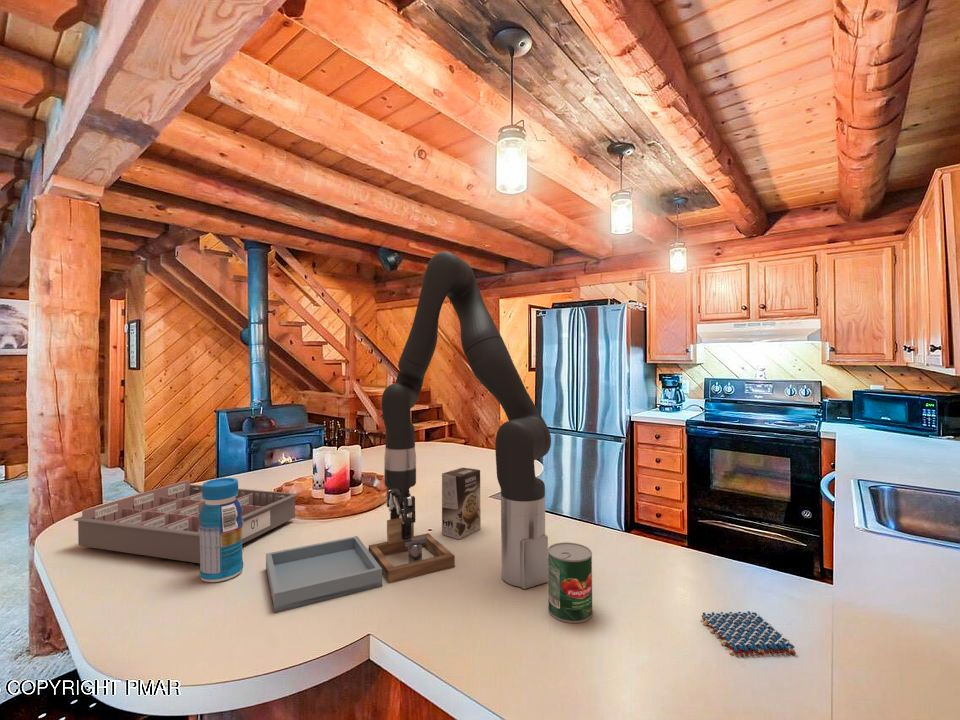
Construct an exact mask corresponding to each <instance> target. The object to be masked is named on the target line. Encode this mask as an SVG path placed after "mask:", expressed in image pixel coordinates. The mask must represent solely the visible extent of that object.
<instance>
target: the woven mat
mask: <svg viewBox="0 0 960 720" xmlns="http://www.w3.org/2000/svg"><path fill="white" fill-rule="evenodd" d="M700 618H701V619H702V620H699V622H700V623H702V624H703V625H704V626H706V630H708V631H709V632H710V633H711V634H712V635H714V634H715V635H714V637H715V638H716V639H718V641H719V642H720V644H721V645H722V646H723V647H725V648H724V650H725V651H728V654H729V655H731V656H740V657H744V656H759V655H760V656H764V655H765V656H766V655H767V656H769V655H795V654H796V650H795V646H794V644H792V643H791V642H790V639H787V638H786V637H784V636H783V633H780V632H779V631H777V630H778V629H776V628H774V626H772V624H771V623H769V622H768V621H766V620H765V618H763V617H762V616H761V615H760V614H757V612H753V611H752V612H751V611H750V610H747V612H742V611H738V612H734V613H733V612H732V611H729V612H728V613H727V612H723V611H721V612H720V613H718V612H717V613H715V612H714V611H712V612H711V613H706V612H702V614H701V617H700Z"/></svg>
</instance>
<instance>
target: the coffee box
mask: <svg viewBox="0 0 960 720" xmlns="http://www.w3.org/2000/svg"><path fill="white" fill-rule="evenodd" d="M481 511H482V510H481V470H480V469H477V468H472V467H471V468H470V467H468V468H467V467H459V468H456V469H453V470H449V471H447V472H443V473H441V534H442V535H443V536H446V537H450V538H452V539H456V540H462V539H464V538H466V537H468V536H470V535H472V534H474V533H476V532H478V531H480V530H481V529H482V527H481V526H482V525H481V521H482V520H481V519H482V518H481Z"/></svg>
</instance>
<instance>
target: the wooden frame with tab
mask: <svg viewBox="0 0 960 720" xmlns="http://www.w3.org/2000/svg"><path fill="white" fill-rule="evenodd" d="M407 518H409V517H408V516H407ZM414 523H415V522H414ZM414 523H411V538H410V539H414V538H419V537H424V536H425V537H426V538H427V543H422V548H426V549H427V550H428V551H429V552H431V554H433V555H434V556H433V557H432V556H431V557H429V558H424V559H422V560H419V561H415V562H411V563H408V562H406V563H403V564H399V565H395V566H393V564H392V563H391V562H390V560H388V558H387V557H386V556H388V555H393V554H399V553H402V552H406V551H407V552H408V547H405V546H404V545H403V541H404V540H403V539H402V538H401V518H397V519H391V520H390V519H387V520H386V541H383V542H379V543H378V542H377V543H374V544H369V545H368V551H369V552H370V553H371V555H372V556H373V557H374V559H375V560H376V561H377V563H378V564H379V565H380V567H381V568H382V577H383V578H384V579H385V580H386V582H387V583H388V584H391V583H395V582H399V581H403V580H406V579H411V578H412V579H413V578H417V577H420V576H423V575H426V574H431V573H435V572H439V571H443V570H448V569H452V568H454V567H456V565H455V563H456V562H455V561H456V560H455V554H453V553H452V552H451V551H450V550H449V549H447V548H446V547H445V546H444V545H443V544H442V543H441V542H440V541H438V540H437V539H436V538H435V537H434V536H432V535H431V534H430V533H429V532H427V533H423V534H417V535H415V532H414V530H415V529H414V527H415V526H414V525H415V524H414ZM407 540H409V539H407Z"/></svg>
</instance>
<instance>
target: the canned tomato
mask: <svg viewBox="0 0 960 720" xmlns="http://www.w3.org/2000/svg"><path fill="white" fill-rule="evenodd" d="M592 556H593V551H592V550H591V549H590V548H589V547H588V546H586V545H584V544H581V543H575V542H569V541H568V542H566V541H565V542H558V543H554V544H551V545H550V546H548V582H547V583H548V585H547V586H548V587H547V589H548V592H547V593H548V594H547V595H548V606H547V607H548V612H549V614H550V615H551V616H552V617H553V619H556V620H559V621H560V622H564V623H568V624H579V623H580V624H581V623H585V622H587V621H589V620H590V619H591V618H592V617H593V614H594V611H593V579H592V578H593V557H592Z"/></svg>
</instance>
